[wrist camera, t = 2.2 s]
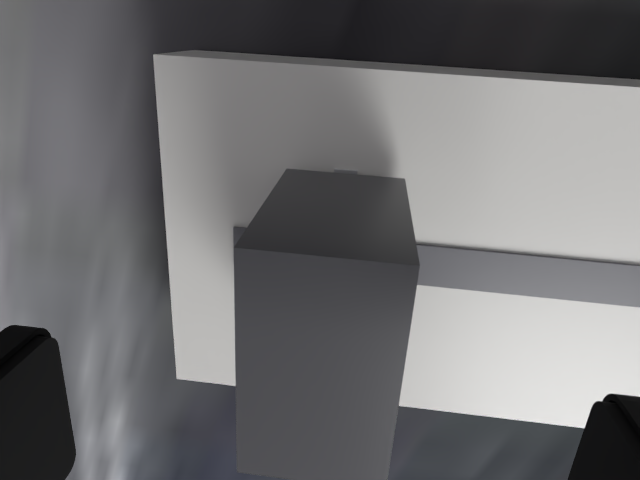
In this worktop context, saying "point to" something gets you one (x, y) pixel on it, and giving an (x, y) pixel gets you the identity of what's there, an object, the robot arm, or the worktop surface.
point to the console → (426, 215)
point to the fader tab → (323, 326)
